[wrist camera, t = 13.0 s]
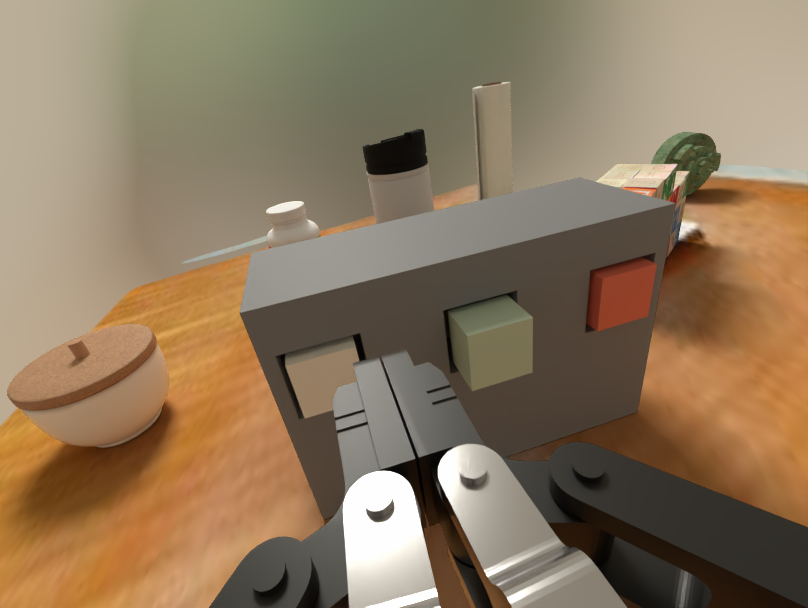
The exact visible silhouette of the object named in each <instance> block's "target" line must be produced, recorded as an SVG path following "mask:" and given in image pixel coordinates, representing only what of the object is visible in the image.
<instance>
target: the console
mask: <svg viewBox="0 0 808 608" xmlns="http://www.w3.org/2000/svg"><path fill="white" fill-rule="evenodd" d="M675 204H676V203H673V202H670V201H666V200H662V199H658V198H655V197H651V196H647V195H643V194H639V193H636V192H632V191H628V190H624V189H621V188H617V187H613V186H609V185H606V184H602V183H598V182H594V181H591V180H587V179H583V178H575V179H572V180H567V181H562V182H558V183H554V184H549V185H545V186H541V187H536V188H532V189H528V190H523V191H519V192H515V193H510V194H506V195H501V196H497V197H493V198H488V199H484V200H480V201H475V202H471V203H466V204H462V205H458V206H453V207H449V208H445V209H440V210H436V211H432V212H427V213H423V214H419V215H414V216H410V217H405V218H401V219H397V220H392V221H388V222H384V223H379V224H375V225H371V226H366V227H362V228H358V229H353V230H349V231H344V232H340V233H336V234H331V235H327V236H323V237H318V238H314V239H310V240H305V241H301V242H296V243H292V244H288V245H283V246H279V247H275V248H270V249H266V250H262V251H257V252H253V253H252V254H251V259H250V264H249V269H248V274H247V279H246V284H245V289H244V294H243V299H242V304H241V309H240V315H241V317H242V320H243V322H244V325H245V327H246V330H247V332H248V335H249V337H250V340H251V342H252V345H253V347H254V349H255V352H256V354H257V357H258V359H259V362H260V364H261V367H262V369H263V372H264V374H265V377H266V379H267V381H268V384H269V386H270V389H271V391H272V394H273V396H274V399H275V401H276V404H277V406H278V408H279V411H280V413H281V416H282V418H283V421H284V423H285V426H286V428H287V431H288V433H289V436H290V438H291V440H292V443H293V445H294V448H295V450H296V453H297V455H298V458H299V460H300V463H301V465H302V468H303V470H304V472H305V475H306V477H307V480H308V482H309V485H310V487H311V490H312V492H313V495H314V497H315V500H316V502H317V504H318V507H319V509H320V512H321V514H322V517H323V519H327V518H330V517H333V516H334V515H335V514H336V513H337V511H338V510H339V508H340V506H341V504H342V502H343V499H344V495H345V479H344V472H343V466H342V460H341V454H340V448H339V441H338V435H337V429H336V423H335V417H334V410H332V411H328V412H325V413H322V414H318V415H315V416H312V417H308V418H304V415H303V413H302V410H301V407H300V404H299V402H298V399H297V396H296V394H295V391H294V388H293V386H292V383H291V380H290V377H289V375H288V372H287V369H286V367H285V353H289V352H292V351H296V350H300V349H303V348H307V347H311V346H314V345H318V344H322V343H325V342H329V341H333V340H336V339H340V338H344V337H348V336H351V335H352V336H353V339H354V343H355V346H356V350H357V354H358V358H359V362H360V361H363V360H367V359H371V358H375V357H379V359H380V356H382V355H386V354H389V353H393V352H397V351H401V350H405V349H406V350H407V352H408V354H409V356H410V358H411V360H412V363H413V365H414V366H416V365H420V364H423V363H427V362H430V363H431V364H432V365H434V366H435V367H437V368H438V369H440V370H441V371H443V373H444V375H445V377H446V378H447V380H448V382H449V384H450V387H452V389H453V391H454V393H455V394H456V397H457V398H458V400H459V401H460V403H461V405H462V407H463V408H464V410H465V412H466V414H467V415H468V417H469V419H470V421H471V422H472V424H473V426H474V428H475V429H476V431H477V433H478V435H479V436H480V438H481V440H482V441H483V443H484V444H485V445H486V446H487V447H488V448H490V449H492V450H493V451H495V452H496V453H497V454H498V455H499V456H502V457H504V458H505V457H508V456H510V455H513V454H516V453H519V452H522V451H525V450H528V449H531V448H534V447H537V446H540V445H543V444H545V443H548V442H551V441H554V440H557V439H560V438H563V437H566V436H569V435H572V434H575V433H578V432H580V431H583V430H586V429H589V428H592V427H595V426H598V425H601V424H604V423H607V422H610V421H613V420H615V419H618V418H621V417H624V416H627V415H630V414H633V413H636V412H638V407H639V401H640V396H641V390H642V385H643V379H644V374H645V369H646V363H647V358H648V352H649V347H650V341H651V336H652V330H653V325H654V319H655V314H656V308H657V303H658V297H659V292H660V286H661V281H662V275H663V270H664V265H665V259H666V254H667V248H668V243H669V237H670V232H671V226H672V221H673V215H674V210H675ZM638 257H643V258H645V259H647V260H649V261H652V262H654V263H656V264H657V267H656V272H655V278H654V284H653V290H652V296H651V301H650V307H649V313H648V316H647V317H644V318H640V319H637V320H634V321H630V322H627V323H624V324H621V325H617V326H614V327H611V328H607V329H604V330H601V331H596V330H595V329H593V328H592V327H591V326H589V325H588V324H587V323H586V315H587V303H588V291H589V279H590V270H594V269H597V268H601V267H605V266H608V265H612V264H616V263H619V262H623V261H627V260H630V259H634V258H638ZM503 295H508V296H509V297H510V298H511V299H512V300H513V301H515V302H516V303H517V304H518V305H519V306H520V307H521V308H523V309H524V310H525V311H526V312H527V313H528V314H529V315H531V316H532V317H533V371H532V373H529V374H526V375H523V376H520V377H517V378H513V379H510V380H507V381H504V382H500V383H497V384H494V385H491V386H488V387H484V388H481V389H478V390H475V391H472V390H471V389H470V387H469V386H468V384H467V383H466V381H465V379H464V378H463V376H462V375H461V373H460V372H459V370H458V369H457V367H456V366H455V364H454V362H453V356H452V347H451V338H450V329H449V320H448V310H452V309H456V308H459V307H463V306H467V305H470V304H474V303H478V302H481V301H485V300H489V299H492V298H496V297H500V296H503ZM380 362H381V360H380Z"/></svg>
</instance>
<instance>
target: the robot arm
mask: <svg viewBox="0 0 808 608" xmlns="http://www.w3.org/2000/svg"><path fill="white" fill-rule="evenodd" d="M380 360H381V362H380ZM353 367H354V371H355V375H356V380H357V382H354V383H351V384H347V385H343V386H340V387H338V388H337V391H336V393H335V396H334V399H333V402H332V404H333V410H334V417H335V423H336V429H337V435H338V441H339V448H340V454H341V460H342V466H343V472H344V479H345V495H344V499H343V502H342V504H341V506H340V508H339V510H338V511H337V513H336V514H335V515H334V517H333V518H332V519H331V520H330V521H329V522H328V523H327V524H326V525H324V526H323V527H322V528H320V529H319V530H318V531H316V532H315V533H313V534H312V535H310V536H309V537H307V538H306V539H305V540H303V541H302V542H300V541H299V540H297V539H295V538H291V537H276V538H273V539H270V540H267V541H265V542H263V543H261V544H260V545H258V546H257V547H255V548H254V549H253V550H252V551H250V552H249V553H248V554H247V555H246V556H245V558H244V559H243V560H242V561H241V563H240V564H239V565H238V567H237V568H236V570H235V571H234V573H233V574H232V575H231V577H230V578H229V580H228V581H227V583H226V584H225V585H224V587H223V588H222V590H221V591H220V593H219V594H218V595H217V597H216V598H215V600H214V601H213V603H212V604H211V605H210V607H209V608H441V605H440V602H439V598H438V594H437V590H436V586H435V582H434V578H433V573H432V569H431V565H430V561H429V556H428V552H427V546H426V541H425V535H424V529H423V528H426V527H427V525H426V519H425V514H426V517H427V520H428V523H429V526H431V525H434V524H437V523H440V525H441V527H442V530H443V533H444V536H445V538H446V541H447V549H448V555H449V558H450V561H451V563H452V565H453V568H454V570H455V572H456V575H457V577H458V579H459V581H460V584H461V586H462V588H463V590H464V593H465V595H466V597H467V600H468V602H469V604H470V606H471V608H808V527H805V526H803V525H800V524H798V523H795V522H792V521H790V520H787V519H785V518H782V517H780V516H777V515H774V514H772V513H769V512H767V511H764V510H762V509H759V508H756V507H754V506H751V505H749V504H746V503H744V502H741V501H738V500H736V499H733V498H731V497H728V496H725V495H723V494H720V493H718V492H715V491H713V490H710V489H707V488H705V487H702V486H700V485H697V484H695V483H692V482H689V481H687V480H684V479H682V478H679V477H677V476H674V475H671V474H669V473H666V472H664V471H661V470H659V469H656V468H653V467H651V466H648V465H646V464H643V463H640V462H638V461H635V460H633V459H630V458H628V457H625V456H622V455H620V454H617V453H615V452H612V451H610V450H607V449H604V448H602V447H599V446H597V445H593V444H590V443H585V442H571V443H566V444H564V445H561V446H560V447H558V448H557V449H556V450H555V451H554V452H553V454H552V455H551V458H550V461H516V460H511V459H507V458H504V457H502V456H499V455H498V454H497V453H496V452H495V451H493V450H492V449H490V448H488V447H487V446H486V445H485V444H484V443H483V441H482V440H481V438H480V436H479V435H478V433H477V431H476V429H475V428H474V426H473V424H472V422H471V421H470V419H469V417H468V415H467V414H466V412H465V410H464V408H463V407H462V405H461V403H460V401H459V400H458V398H457V397H456V394H455V393H454V391H453V389H452V387H450V384H449V382H448V380H447V378H446V377H445V375H444V373H443V371H441V370H440V369H438V368H437V367H435V366H434V365H432V364H431V363H430V362H427V363H423V364H420V365H416V366H414V365H413V363H412V360H411V358H410V356H409V354H408V352H407V350H406V349H405V350H401V351H397V352H393V353H389V354H386V355H382V356H380V359H379V357H375V358H371V359H367V360H363V361H360V362H356V363H353ZM424 511H425V513H424Z"/></svg>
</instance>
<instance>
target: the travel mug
mask: <svg viewBox="0 0 808 608" xmlns="http://www.w3.org/2000/svg"><path fill="white" fill-rule="evenodd" d="M363 152H364V158H365V162H366V163H367V165H366V168H367V176H368V178H369V180H368V181H369V186H370V192H371V198H372V203H373V208H374V213H375V219H376V224H379V223H384V222H388V221H392V220H397V219H401V218H405V217H410V216H414V215H419V214H423V213H427V212H432V211H434V208H433V199H432V190H431V182H430V173H429V170H428V167H429V165H428V161H427V156H426V154H425V153H426V145H425V135H424V130H423V129H417V130H414V131H410V132H406V133H404V135H401V136H397V137H393V138H390V139H386V140H382V141H381V143H378V144H373V145H366V146H363Z"/></svg>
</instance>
